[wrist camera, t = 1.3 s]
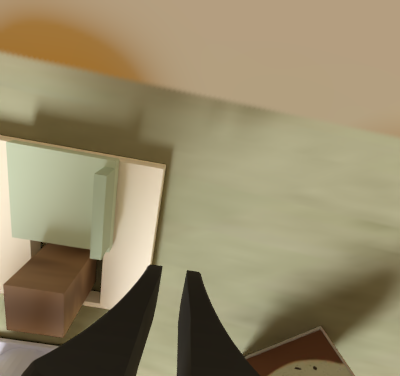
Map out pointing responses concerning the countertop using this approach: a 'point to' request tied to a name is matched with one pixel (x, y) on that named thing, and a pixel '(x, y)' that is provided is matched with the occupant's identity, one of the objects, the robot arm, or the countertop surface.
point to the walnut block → (49, 290)
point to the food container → (301, 357)
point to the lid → (62, 196)
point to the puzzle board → (122, 236)
